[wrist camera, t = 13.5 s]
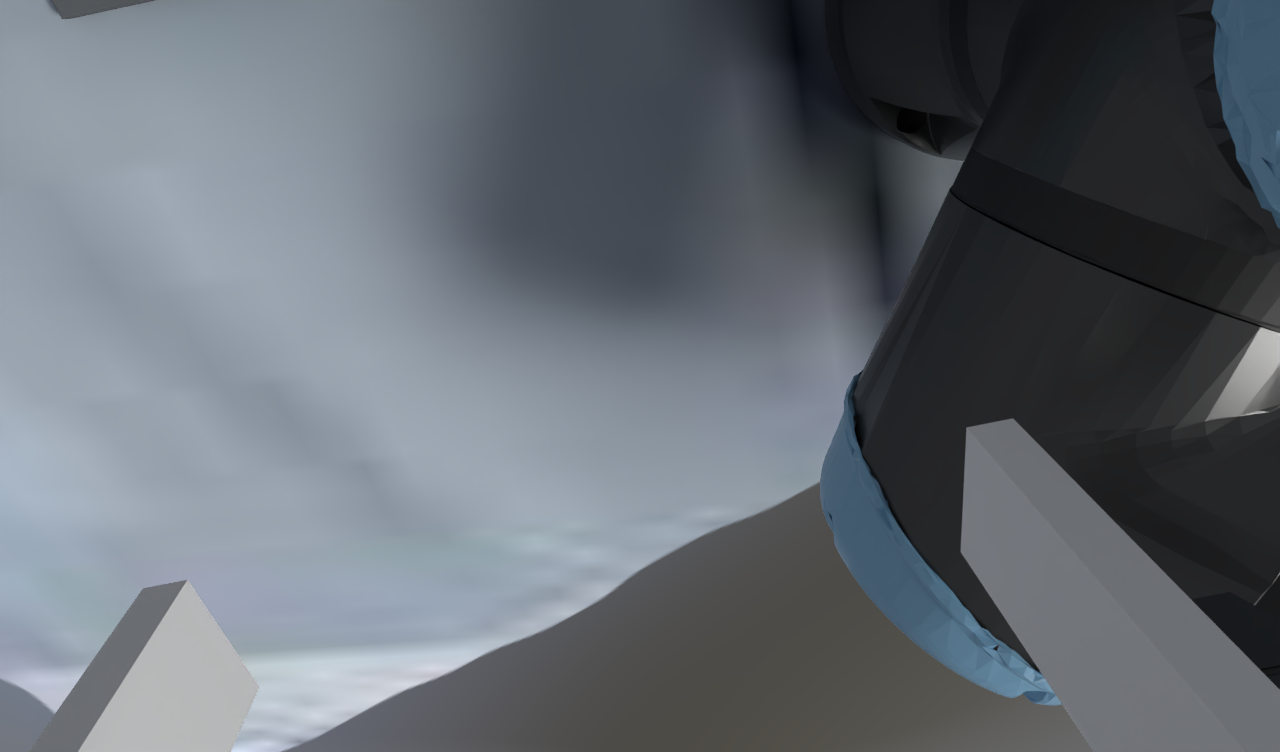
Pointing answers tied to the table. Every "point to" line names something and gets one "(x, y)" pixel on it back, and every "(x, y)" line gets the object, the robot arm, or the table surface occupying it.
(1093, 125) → the robot arm
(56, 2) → the charcoal mat
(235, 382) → the table surface
